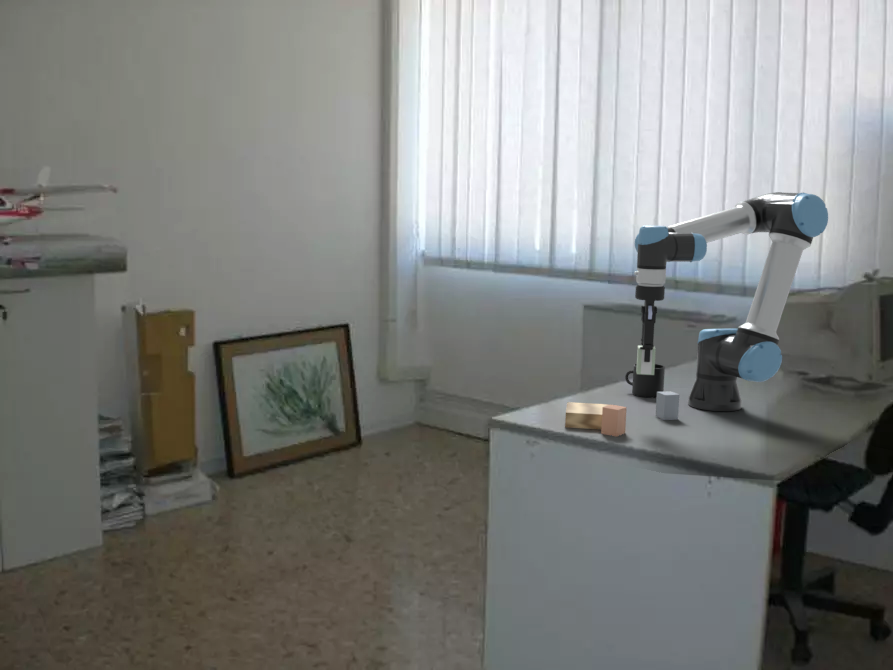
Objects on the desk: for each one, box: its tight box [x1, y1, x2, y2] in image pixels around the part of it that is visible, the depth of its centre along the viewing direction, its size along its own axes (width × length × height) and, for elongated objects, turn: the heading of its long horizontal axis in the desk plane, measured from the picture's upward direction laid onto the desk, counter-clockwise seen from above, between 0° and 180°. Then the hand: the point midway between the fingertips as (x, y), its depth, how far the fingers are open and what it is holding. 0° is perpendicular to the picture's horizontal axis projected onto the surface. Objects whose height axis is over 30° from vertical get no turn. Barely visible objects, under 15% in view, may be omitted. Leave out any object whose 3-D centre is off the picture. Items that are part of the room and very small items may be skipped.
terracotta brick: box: [600, 404, 627, 437], centre depth 265 cm, size 4×4×7 cm
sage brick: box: [636, 344, 657, 375], centre depth 272 cm, size 4×4×7 cm
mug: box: [624, 363, 666, 399], centre depth 315 cm, size 9×12×9 cm
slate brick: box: [655, 390, 680, 421], centre depth 284 cm, size 4×4×7 cm
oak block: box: [564, 401, 610, 430], centre depth 276 cm, size 13×13×4 cm
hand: (645, 371), depth 273 cm, fingers closed on sage brick, 4 cm apart
